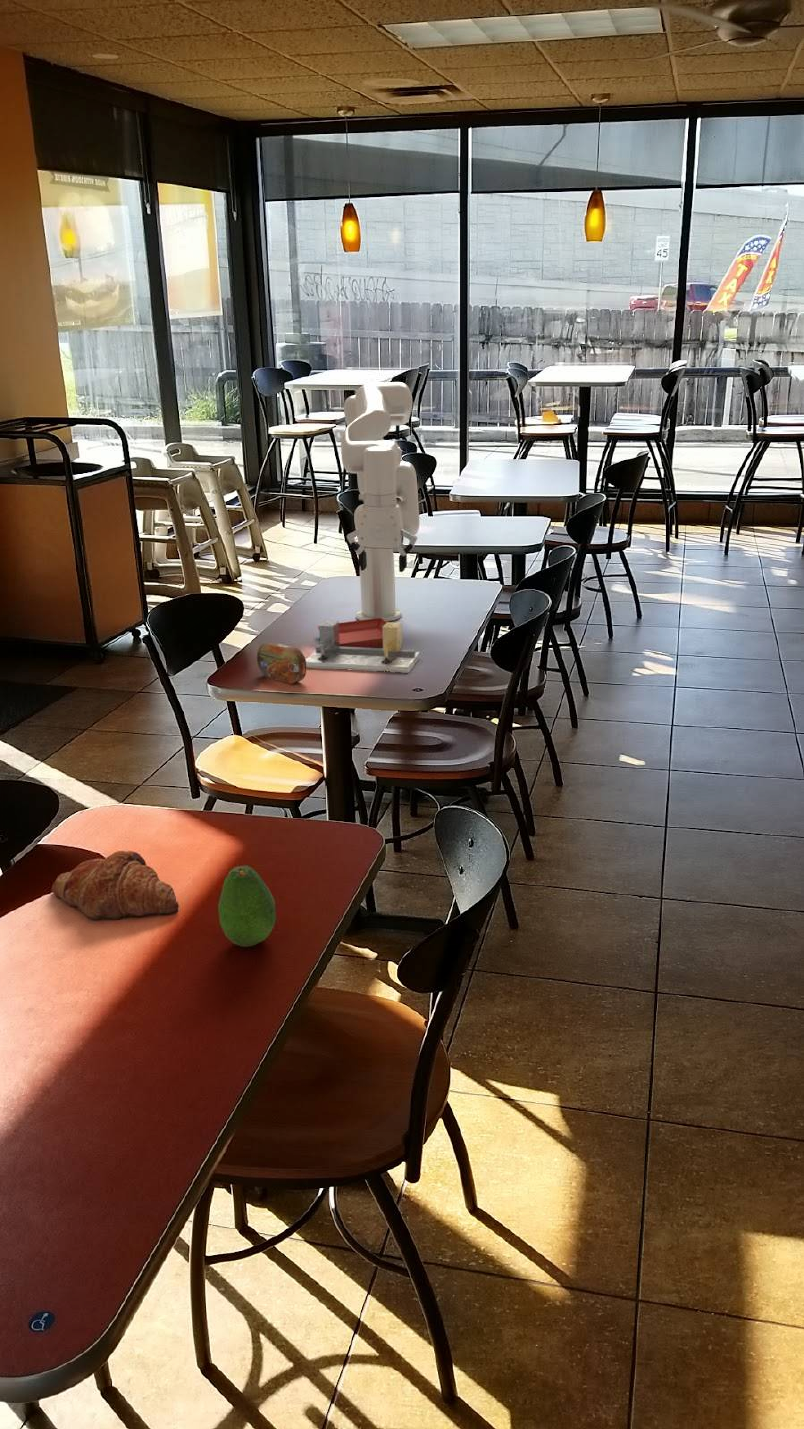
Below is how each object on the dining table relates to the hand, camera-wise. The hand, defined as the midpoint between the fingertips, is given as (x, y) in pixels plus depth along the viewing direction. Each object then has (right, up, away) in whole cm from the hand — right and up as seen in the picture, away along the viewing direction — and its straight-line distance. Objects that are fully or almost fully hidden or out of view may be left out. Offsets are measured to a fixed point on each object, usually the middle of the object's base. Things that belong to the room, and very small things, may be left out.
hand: (382, 569), depth 278 cm
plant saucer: (-6, -17, +19) cm, 26 cm away
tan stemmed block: (+2, -21, -1) cm, 21 cm away
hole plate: (-5, -23, +1) cm, 23 cm away
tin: (-23, -27, -9) cm, 37 cm away
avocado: (-17, -67, -118) cm, 137 cm away
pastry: (-39, -64, -106) cm, 129 cm away
